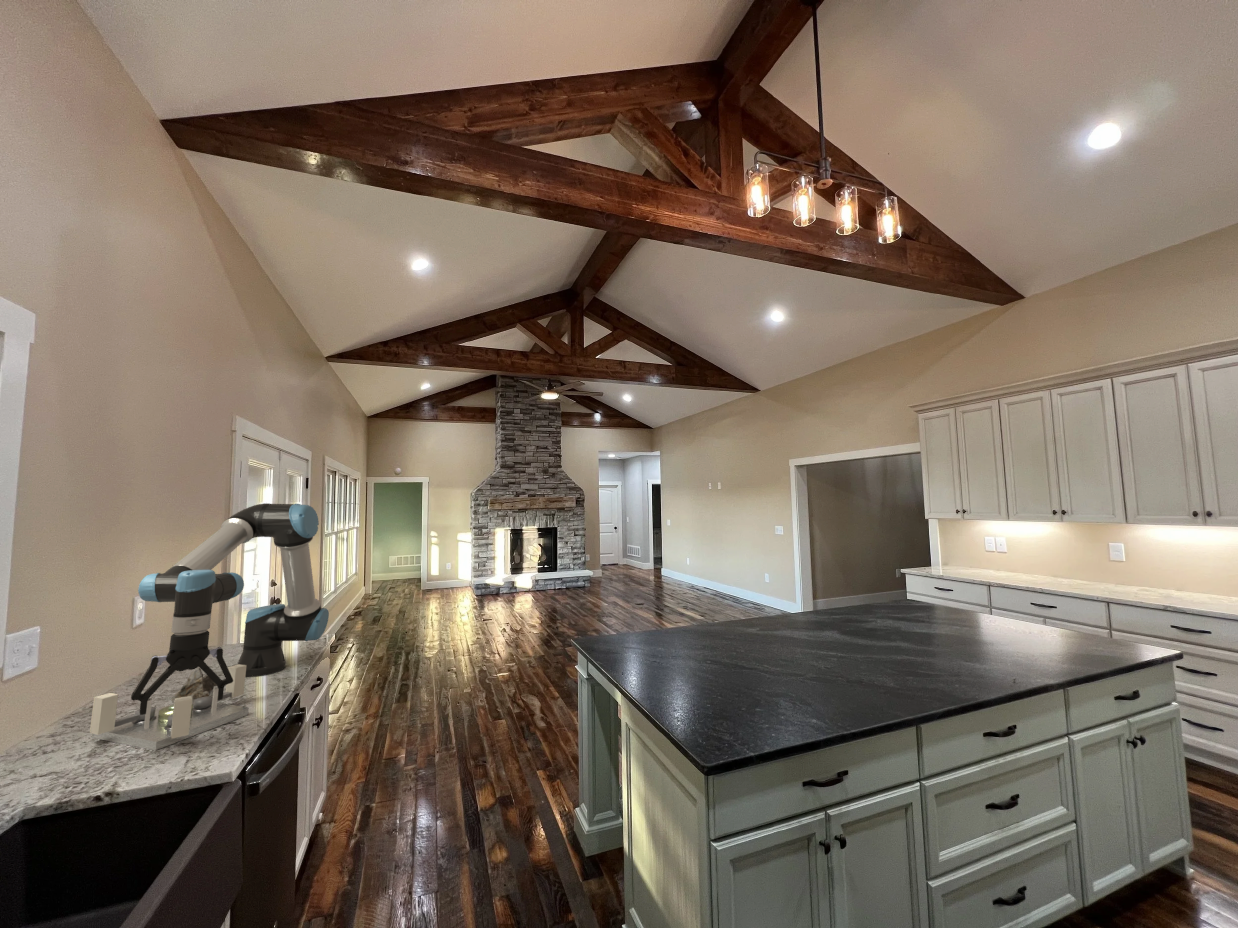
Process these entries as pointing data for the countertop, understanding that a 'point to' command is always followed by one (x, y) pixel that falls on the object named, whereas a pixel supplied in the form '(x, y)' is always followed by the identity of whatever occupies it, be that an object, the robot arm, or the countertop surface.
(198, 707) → the gray lever with block
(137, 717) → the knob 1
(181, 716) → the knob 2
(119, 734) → the level plate
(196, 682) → the rock
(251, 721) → the countertop surface
